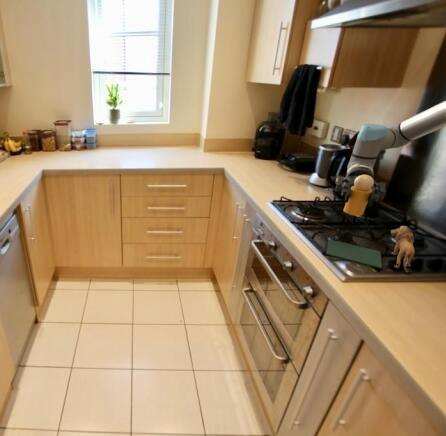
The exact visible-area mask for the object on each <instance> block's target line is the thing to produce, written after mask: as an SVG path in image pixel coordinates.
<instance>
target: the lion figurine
mask: <svg viewBox="0 0 446 436" xmlns="http://www.w3.org/2000/svg"><path fill="white" fill-rule="evenodd" d="M390 233H391V236H392V237H395V238H394V239H395V246H394V249H393V251H392V252H391V254H392V255H394V256H397V257H396V264H395V265H393V266H394V268H395V269H400V266H401V263H402V262H401V260H402V259H403V263H402V264H403V270H404V272H405V273H409V270H408V268H407V267H409V268H410V267H411V261H412V260H413V258H414V256H415V247H414V243H415V238H414V234H413V232H412V230H411V229H410V228H409V227H408V226H405V225H400V227H399V228H396V229H391V230H390ZM403 257H404V258H403ZM397 264H398V265H397Z"/></svg>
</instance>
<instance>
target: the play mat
mask: <svg viewBox="0 0 446 436" xmlns="http://www.w3.org/2000/svg"><path fill="white" fill-rule="evenodd" d="M381 253H382V251H380V250H377V249H372V248H368V247H364V246H359V245H355V244H351V243H348V242H343V241H338V240H334V239H328V241H327V248H326V253H325V254H326V256H330V257H333V258H338V259H341V260H346V261H350V262H353V263H357V264H361V265H365V266H369V267H372V268H377V269H380V270H382V269H383V263H382V254H381Z"/></svg>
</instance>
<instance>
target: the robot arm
mask: <svg viewBox="0 0 446 436" xmlns="http://www.w3.org/2000/svg"><path fill="white" fill-rule="evenodd" d="M445 127H446V100H444V101H442V102H440V103H438V104H436V105H434V106H432V107H430V108H428V109H426V110H423V111H421V112H419V113H417V114H415V115H413V116H411V117H409V118H407V119H405V120H402V121H401V122H399V123H397V124H394V125H392V126H391V127H387V126H386V125H382V124H376V123H371V124H370V123H367V124H364V125H362V126H361V127H360V129H359V132H358V134H357V136H356V141H355V143H354V147H353V150H352V154H351V156H350V159H349V161H348V163H347V166H346V169H347V170H346V176H345V177H344V176H342V175H340V174H339V175H337V176H336V180H335V184H336V185H335V189H334V192H336V193H340V192H341V193H340V196H341V197H344V203H346V202H347V203H348V200H349V197H350V195H351V187H352V186H354V180H355V179H356V178H357V177H358V176H360V175H369V176H371V177H372V178H373V180H374V184H373V186H372V187H371V188H370V189H371V190H372V192H371V195H370V197H369V200H368V203H367V204H368V207H370V208H373V205H374V203H375V202H378V200H384V198H385V196H386V193H387V190H386V184H387V182H385V181H381V182H377V181H376V180H375V176H374V175H375V174H374V167H375V164H376V161H377V159H378V157H379V153H380V151H384V150H385V151H386V150H390V149H397V148H401V147H404V146H406V145H408V144H409V143H411V142H413V141H414V140H416V139H419V138H421V137H424V136H426V135H428V134H431V133H433V132H436V131H438V130H440V129H442V128H445ZM343 183H345V184H344V185H343Z"/></svg>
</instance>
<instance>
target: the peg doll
mask: <svg viewBox="0 0 446 436" xmlns="http://www.w3.org/2000/svg"><path fill="white" fill-rule="evenodd" d="M374 180H375V179H374ZM374 180H373V178H372V177H371V176H369V175H360V176H358V177H357V178H356V179H355V180H354V186H352V187H351V195H350V197H349V200H348V203H347V202H345V205H344V207H343V212H344V213H345V214H347V215H350V216H353V217H354V216H355V217H360V216H363V215H364V213H365V210H366V208H367V205H368V204H369V203H368V200H369V197H370V195H371V192H372V190H371V189H370V188H371V187H372V186H373V184H374Z"/></svg>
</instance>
